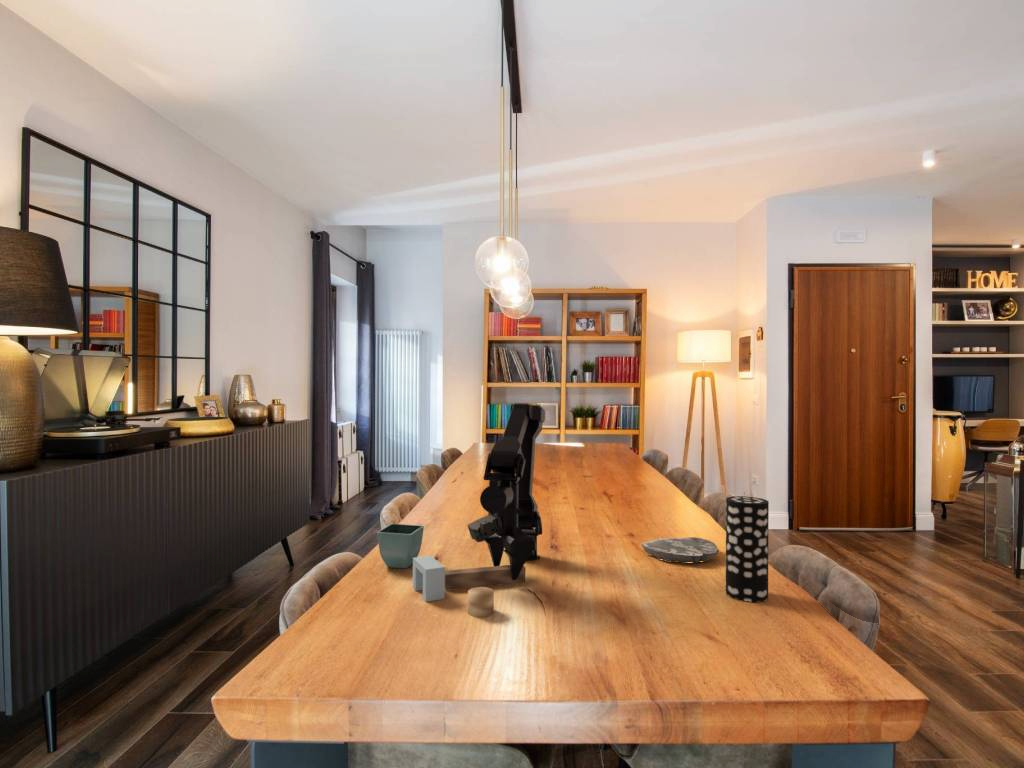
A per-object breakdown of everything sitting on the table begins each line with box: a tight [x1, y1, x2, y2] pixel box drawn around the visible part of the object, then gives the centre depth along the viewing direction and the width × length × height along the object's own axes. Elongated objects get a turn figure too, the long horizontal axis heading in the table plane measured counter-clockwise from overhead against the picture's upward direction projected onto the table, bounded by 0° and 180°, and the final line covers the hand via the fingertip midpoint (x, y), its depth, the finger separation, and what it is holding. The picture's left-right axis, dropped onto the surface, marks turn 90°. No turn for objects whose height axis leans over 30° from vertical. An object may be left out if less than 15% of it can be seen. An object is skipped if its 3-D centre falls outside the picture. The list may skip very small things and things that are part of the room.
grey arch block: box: [412, 555, 446, 602], centre depth 122 cm, size 4×9×6 cm, turn 27°
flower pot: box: [376, 523, 425, 569], centre depth 141 cm, size 9×9×9 cm
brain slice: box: [641, 536, 720, 563], centre depth 149 cm, size 20×17×3 cm
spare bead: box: [467, 586, 495, 618], centre depth 112 cm, size 5×5×4 cm
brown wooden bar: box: [444, 564, 526, 591], centre depth 128 cm, size 18×3×4 cm, turn 107°
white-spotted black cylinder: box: [725, 495, 770, 603], centre depth 122 cm, size 8×8×20 cm
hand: (505, 573), depth 130 cm, fingers open, 9 cm apart
